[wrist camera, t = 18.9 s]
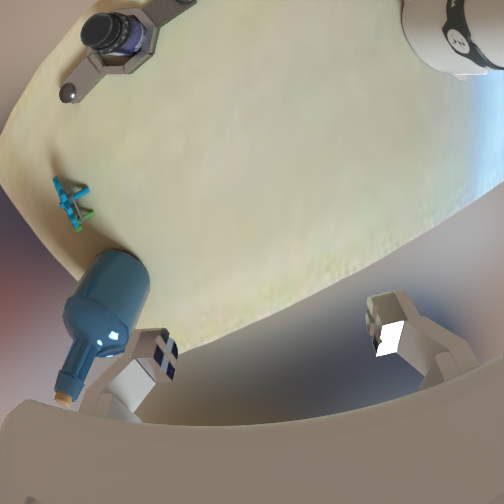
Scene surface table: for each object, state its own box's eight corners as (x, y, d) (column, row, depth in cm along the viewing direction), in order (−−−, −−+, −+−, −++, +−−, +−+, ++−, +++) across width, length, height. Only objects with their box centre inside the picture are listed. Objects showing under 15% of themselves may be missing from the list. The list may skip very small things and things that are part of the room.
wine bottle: (84, 265, 51) (15, 380, 26) (119, 234, 47) (36, 368, 22) (127, 307, 57) (82, 427, 32) (166, 284, 53) (123, 425, 28)
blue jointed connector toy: (47, 175, 38) (53, 187, 33) (74, 160, 41) (85, 169, 36) (68, 224, 46) (79, 244, 40) (92, 209, 49) (107, 226, 43)
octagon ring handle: (177, -29, 23) (173, -35, 20) (216, 12, 27) (214, 7, 25) (55, 79, 30) (46, 80, 28) (85, 120, 35) (76, 122, 33)
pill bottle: (142, 15, 27) (109, -2, 17) (156, 43, 30) (125, 31, 20) (108, 36, 28) (69, 28, 19) (122, 64, 31) (84, 61, 22)
